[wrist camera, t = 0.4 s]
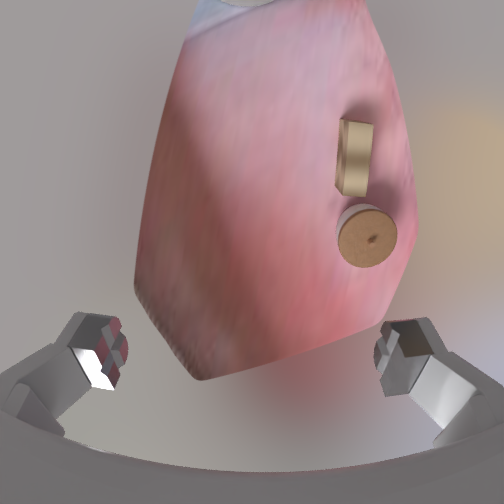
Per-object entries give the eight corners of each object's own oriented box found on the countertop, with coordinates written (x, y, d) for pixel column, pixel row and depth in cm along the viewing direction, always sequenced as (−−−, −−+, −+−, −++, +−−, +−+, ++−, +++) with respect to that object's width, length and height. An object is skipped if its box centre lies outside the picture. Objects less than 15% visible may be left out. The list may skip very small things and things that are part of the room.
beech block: (339, 118, 46) (349, 121, 41) (361, 121, 46) (373, 124, 40) (334, 185, 52) (342, 195, 46) (355, 186, 51) (365, 197, 46)
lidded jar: (325, 202, 53) (336, 222, 45) (379, 190, 51) (399, 208, 43) (334, 252, 58) (345, 279, 50) (384, 240, 56) (402, 264, 48)
